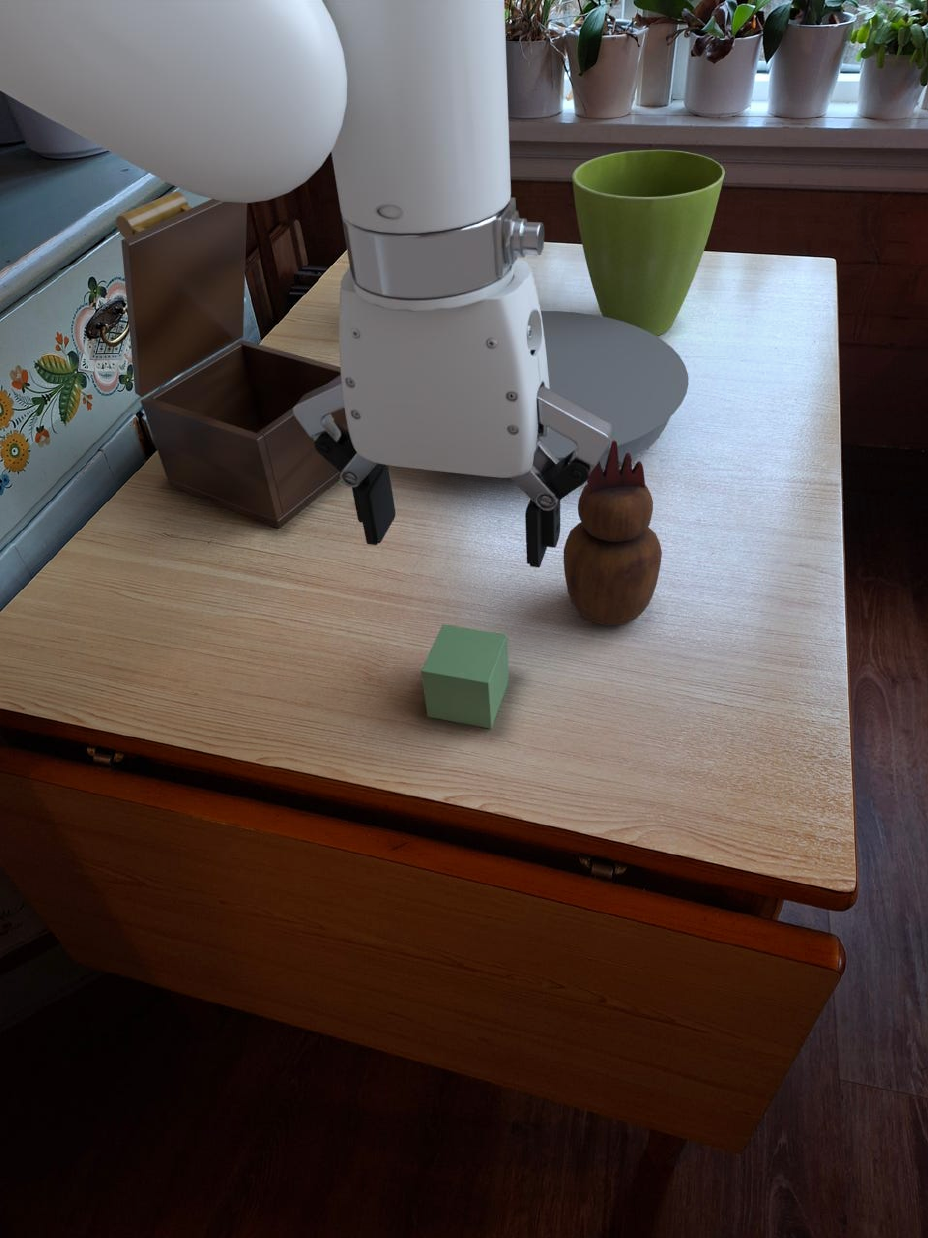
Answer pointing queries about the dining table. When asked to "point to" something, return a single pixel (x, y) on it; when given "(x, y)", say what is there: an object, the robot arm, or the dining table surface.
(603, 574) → the wooden figurine
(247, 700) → the dining table surface
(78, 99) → the robot arm
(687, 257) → the flower pot
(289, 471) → the chest
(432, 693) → the block
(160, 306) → the lid
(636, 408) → the flat disc
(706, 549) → the dining table surface
